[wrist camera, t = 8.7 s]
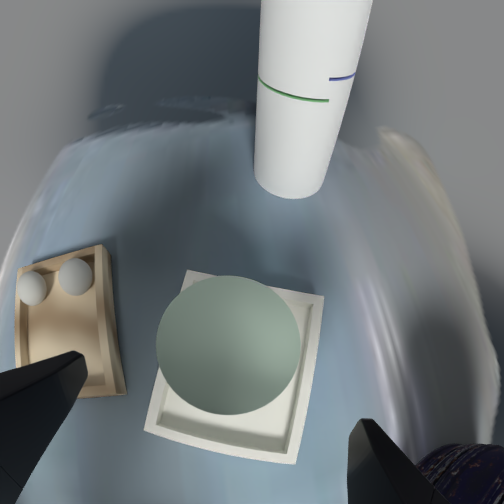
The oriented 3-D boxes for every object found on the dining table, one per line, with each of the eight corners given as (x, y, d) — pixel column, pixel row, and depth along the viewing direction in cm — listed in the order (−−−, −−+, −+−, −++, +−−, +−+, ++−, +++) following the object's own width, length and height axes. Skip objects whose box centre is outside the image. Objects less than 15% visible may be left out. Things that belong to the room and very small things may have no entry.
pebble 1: (57, 289, 20) (39, 274, 18) (41, 316, 19) (21, 305, 16) (40, 274, 21) (23, 259, 18) (25, 299, 20) (6, 287, 17)
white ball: (104, 277, 21) (88, 261, 18) (86, 307, 20) (67, 294, 17) (82, 262, 22) (66, 245, 19) (64, 290, 20) (45, 276, 18)
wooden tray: (127, 394, 18) (116, 393, 16) (33, 399, 16) (19, 398, 14) (110, 255, 23) (101, 243, 21) (29, 277, 21) (17, 268, 20)
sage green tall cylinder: (284, 374, 18) (329, 354, 8) (230, 414, 17) (211, 442, 7) (244, 324, 20) (242, 251, 10) (191, 361, 18) (131, 324, 9)
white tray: (290, 458, 16) (295, 464, 14) (152, 427, 17) (143, 430, 15) (317, 304, 21) (324, 296, 20) (191, 280, 22) (187, 269, 20)
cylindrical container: (337, 185, 27) (409, -64, 5) (276, 209, 26) (317, -102, 3) (298, 142, 30) (331, -76, 8) (241, 160, 28) (244, -91, 6)
